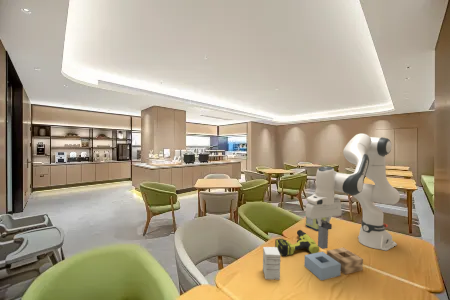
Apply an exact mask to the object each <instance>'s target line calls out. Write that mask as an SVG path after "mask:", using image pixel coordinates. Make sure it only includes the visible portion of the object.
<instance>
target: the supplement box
mask: <svg viewBox="0 0 450 300" xmlns="http://www.w3.org/2000/svg"><path fill="white" fill-rule="evenodd" d="M262 248H263V250H262V251H263V252H262V255H263V256H262V272H263V275H264V279H265V280H274V279H275V280H281V254H280V253H279V251H278V249H277V247H275V246H263V247H262Z"/></svg>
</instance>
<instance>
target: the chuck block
mask: <svg viewBox="0 0 450 300" xmlns="http://www.w3.org/2000/svg"><path fill="white" fill-rule="evenodd" d="M303 263H304V265H303V266H304V267H305V268H306V269H307V270H308V271H309V272H311V273H312V274H313V275H314V276H315V277H317V278H318V280H319V281H324V280H329V279H331V278H336V277H340V276H341V273H342V272H341V264H340V263H339V262H337V261H336V260H334V259H333V258H331V257H330V256H328V255H327V253H325V252H324V251H319V252H318V253H313V254H312V253H310V254H305V255H304V262H303Z"/></svg>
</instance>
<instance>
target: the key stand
mask: <svg viewBox="0 0 450 300" xmlns="http://www.w3.org/2000/svg"><path fill="white" fill-rule="evenodd" d="M326 254H327V255H328V256H330V257H331V258H333V259H334V260H336V261H337V262H339V263H340V264H341V273H342V274H344V275H348V274H351V273H355V272H360V271H363V268H364V267H363V265H364V258H363V257H361V256H359V255H357V254H356V253H354V252H352V251H351V250H349V249H347V248H345V247H339V248H335V249H334V248H333V249H330V250H329V249H328V250H326Z"/></svg>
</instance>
